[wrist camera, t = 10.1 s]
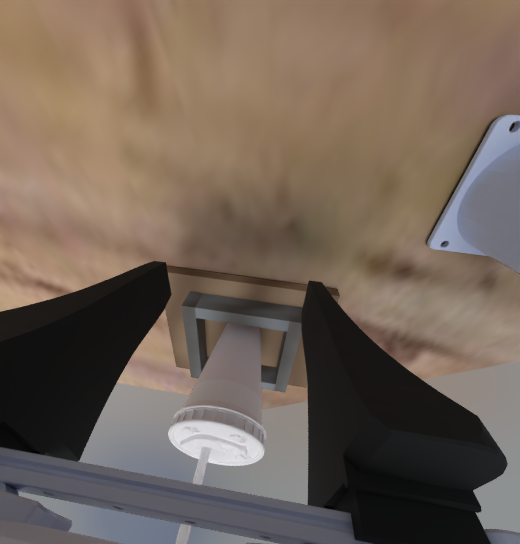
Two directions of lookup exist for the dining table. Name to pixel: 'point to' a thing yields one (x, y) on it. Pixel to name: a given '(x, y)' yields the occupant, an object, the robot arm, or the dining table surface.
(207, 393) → the smoothie
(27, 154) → the dining table surface
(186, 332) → the bottle stand
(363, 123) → the dining table surface
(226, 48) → the dining table surface
